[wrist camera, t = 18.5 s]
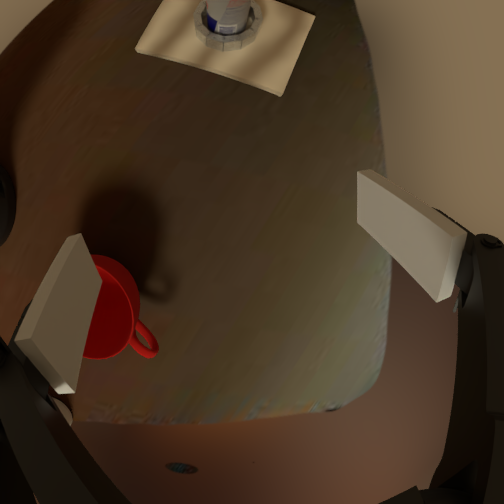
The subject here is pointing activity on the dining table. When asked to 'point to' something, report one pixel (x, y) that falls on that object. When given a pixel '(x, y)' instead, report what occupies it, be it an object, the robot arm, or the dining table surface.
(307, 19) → the serving board
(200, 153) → the dining table surface
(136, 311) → the ceramic cup
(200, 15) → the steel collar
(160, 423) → the dining table surface
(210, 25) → the energy drink
